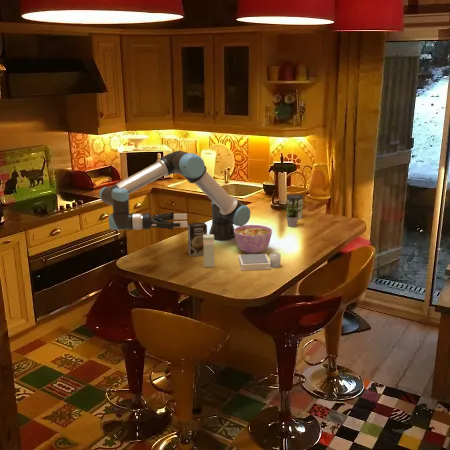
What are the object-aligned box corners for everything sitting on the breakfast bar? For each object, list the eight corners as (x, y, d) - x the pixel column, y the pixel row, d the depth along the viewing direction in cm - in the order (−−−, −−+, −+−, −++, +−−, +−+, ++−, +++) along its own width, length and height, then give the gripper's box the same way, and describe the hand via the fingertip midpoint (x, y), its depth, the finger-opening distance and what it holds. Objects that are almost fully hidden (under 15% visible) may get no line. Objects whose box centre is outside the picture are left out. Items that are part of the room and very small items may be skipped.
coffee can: (290, 220, 338) (291, 198, 334) (283, 216, 347) (284, 195, 343) (305, 218, 341) (306, 197, 337) (298, 214, 350) (299, 193, 346)
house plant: (304, 230, 317) (305, 203, 312) (280, 229, 319) (281, 203, 314) (304, 223, 330) (305, 198, 326) (282, 222, 332) (282, 197, 328)
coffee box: (190, 256, 275) (189, 226, 270) (188, 252, 281) (187, 223, 276) (207, 255, 277) (207, 225, 273) (204, 251, 283) (204, 221, 279)
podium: (238, 260, 269) (238, 254, 268) (266, 259, 270) (266, 253, 269) (241, 270, 256) (241, 263, 255) (270, 269, 257) (270, 262, 256)
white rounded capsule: (269, 264, 264) (269, 252, 262) (279, 264, 264) (279, 252, 262) (270, 268, 259) (271, 256, 257) (281, 267, 259) (281, 255, 257)
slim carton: (203, 263, 266) (203, 234, 261) (214, 263, 266) (213, 234, 262) (204, 267, 261) (203, 237, 256) (214, 266, 261) (214, 237, 257)
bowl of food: (262, 243, 295) (262, 223, 291) (278, 254, 277) (278, 233, 273) (228, 248, 288) (228, 227, 285) (242, 259, 270) (242, 238, 267)
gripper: (144, 221, 267) (187, 220, 269) (140, 236, 243) (187, 235, 245) (143, 207, 265) (186, 206, 267) (140, 220, 241) (187, 219, 243)
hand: (187, 220), depth 256 cm, fingers open, 13 cm apart
